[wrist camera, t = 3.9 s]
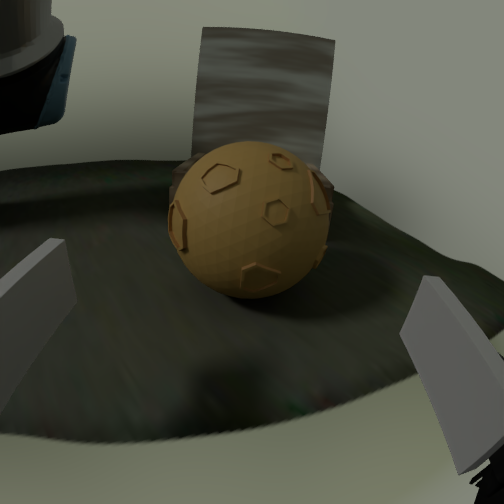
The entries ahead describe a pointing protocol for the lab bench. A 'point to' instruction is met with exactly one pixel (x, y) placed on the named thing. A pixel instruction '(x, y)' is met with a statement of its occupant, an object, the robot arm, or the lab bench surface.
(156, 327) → the lab bench surface
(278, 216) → the stress ball
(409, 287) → the lab bench surface
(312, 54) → the ledge stand
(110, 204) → the lab bench surface
